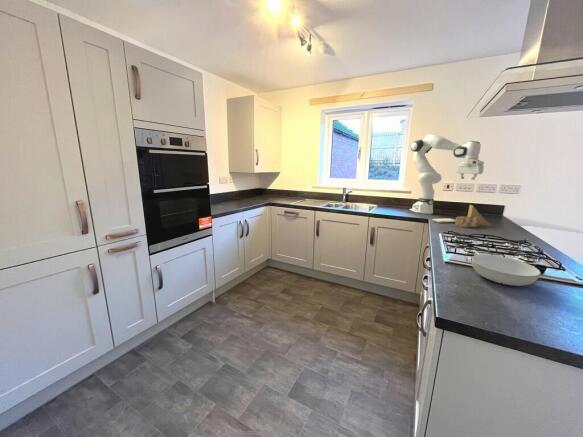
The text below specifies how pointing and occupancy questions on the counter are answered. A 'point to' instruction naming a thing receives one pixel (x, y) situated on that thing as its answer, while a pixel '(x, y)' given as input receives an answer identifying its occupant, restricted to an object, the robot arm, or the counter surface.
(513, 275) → the serving bowl
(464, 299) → the counter surface
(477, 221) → the crate
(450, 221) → the lid
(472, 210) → the sandwich container
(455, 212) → the counter surface
